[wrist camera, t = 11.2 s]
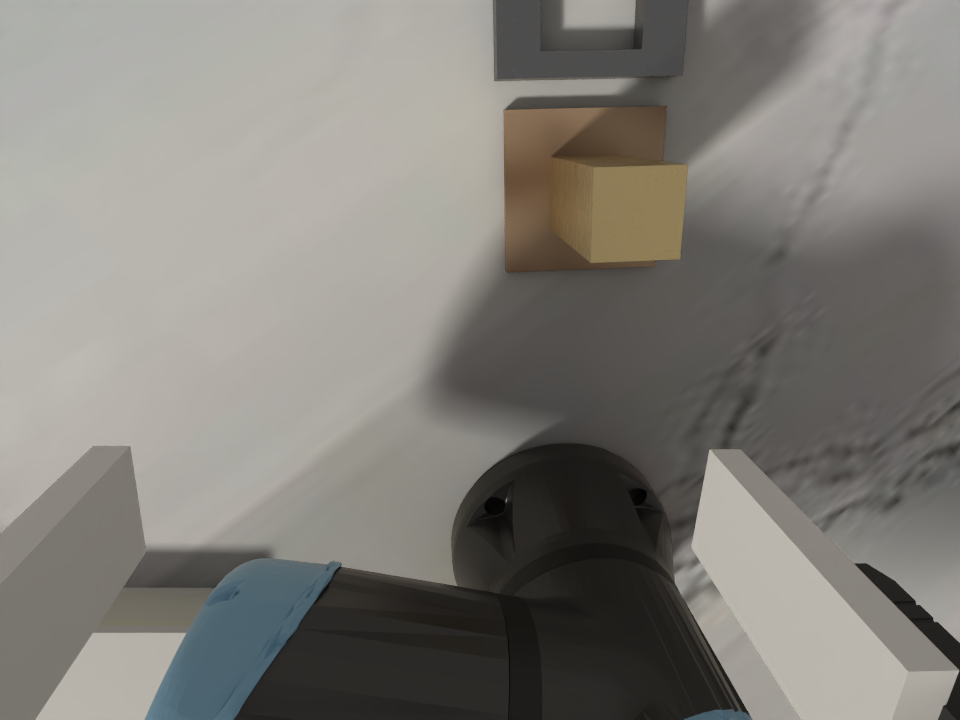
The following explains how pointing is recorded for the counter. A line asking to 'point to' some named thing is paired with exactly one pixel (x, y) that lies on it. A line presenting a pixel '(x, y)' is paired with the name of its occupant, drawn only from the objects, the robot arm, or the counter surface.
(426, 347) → the counter surface
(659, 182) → the square wooden peg
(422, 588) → the robot arm
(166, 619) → the disc drive
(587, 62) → the grey flat slotted block
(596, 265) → the walnut pad
